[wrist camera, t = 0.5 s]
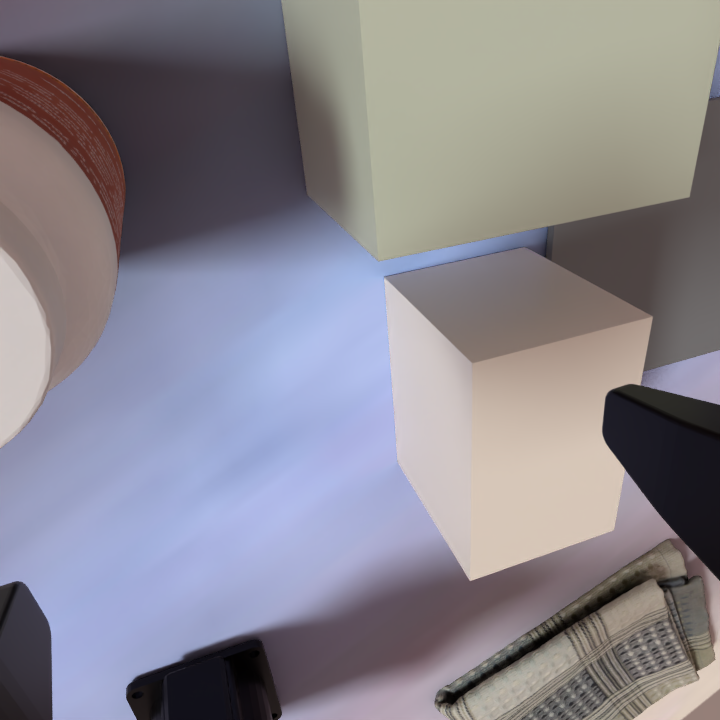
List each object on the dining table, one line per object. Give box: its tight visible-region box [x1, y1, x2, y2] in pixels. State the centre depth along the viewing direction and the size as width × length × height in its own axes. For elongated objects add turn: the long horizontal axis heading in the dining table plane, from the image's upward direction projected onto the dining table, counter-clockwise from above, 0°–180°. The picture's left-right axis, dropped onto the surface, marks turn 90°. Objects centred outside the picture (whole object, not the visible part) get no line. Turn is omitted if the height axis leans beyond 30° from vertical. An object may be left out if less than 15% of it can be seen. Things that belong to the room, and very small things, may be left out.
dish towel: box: [435, 539, 715, 720], centre depth 41 cm, size 19×18×3 cm
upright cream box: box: [384, 247, 653, 581], centre depth 22 cm, size 9×6×7 cm, turn 5°
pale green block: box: [281, 0, 720, 261], centre depth 16 cm, size 9×6×7 cm, turn 96°
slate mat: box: [546, 97, 720, 371], centre depth 26 cm, size 12×12×1 cm
